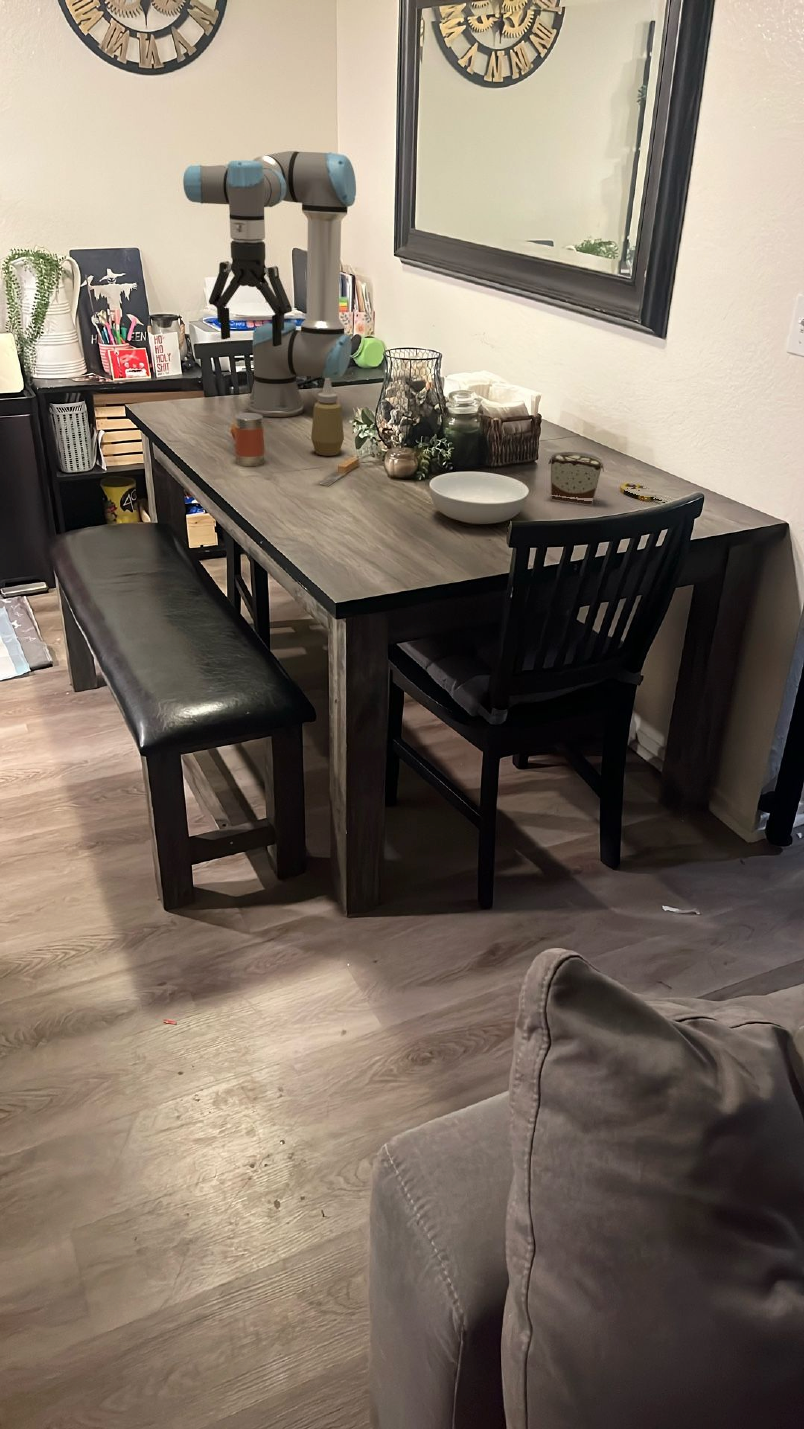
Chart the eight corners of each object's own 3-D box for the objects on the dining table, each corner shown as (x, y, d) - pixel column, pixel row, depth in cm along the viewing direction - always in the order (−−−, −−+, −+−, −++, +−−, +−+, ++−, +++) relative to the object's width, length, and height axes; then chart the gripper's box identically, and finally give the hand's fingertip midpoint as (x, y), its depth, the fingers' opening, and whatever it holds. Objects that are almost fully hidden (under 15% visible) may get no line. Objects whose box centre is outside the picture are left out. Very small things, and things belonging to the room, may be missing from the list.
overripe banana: (631, 480, 247) (680, 498, 237) (630, 488, 248) (678, 506, 238) (616, 483, 245) (665, 501, 234) (615, 491, 246) (663, 510, 235)
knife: (350, 464, 257) (350, 456, 256) (359, 465, 256) (359, 458, 255) (318, 484, 242) (318, 476, 241) (328, 486, 241) (328, 478, 240)
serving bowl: (459, 540, 214) (461, 506, 211) (410, 508, 230) (411, 477, 227) (545, 527, 223) (548, 495, 219) (492, 497, 239) (494, 467, 235)
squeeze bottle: (310, 448, 267) (310, 374, 258) (343, 448, 268) (343, 375, 259) (311, 457, 260) (310, 382, 251) (344, 458, 261) (345, 382, 252)
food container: (603, 499, 241) (609, 455, 236) (598, 507, 235) (604, 462, 230) (549, 491, 244) (554, 448, 239) (544, 499, 239) (548, 455, 234)
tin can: (244, 457, 259) (242, 411, 253) (269, 460, 257) (268, 414, 251) (230, 464, 253) (228, 417, 248) (256, 468, 251) (254, 421, 246)
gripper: (189, 237, 233) (195, 338, 244) (289, 246, 225) (290, 351, 235) (208, 234, 239) (213, 333, 250) (306, 243, 231) (307, 345, 241)
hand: (251, 342), depth 243 cm, fingers open, 13 cm apart
